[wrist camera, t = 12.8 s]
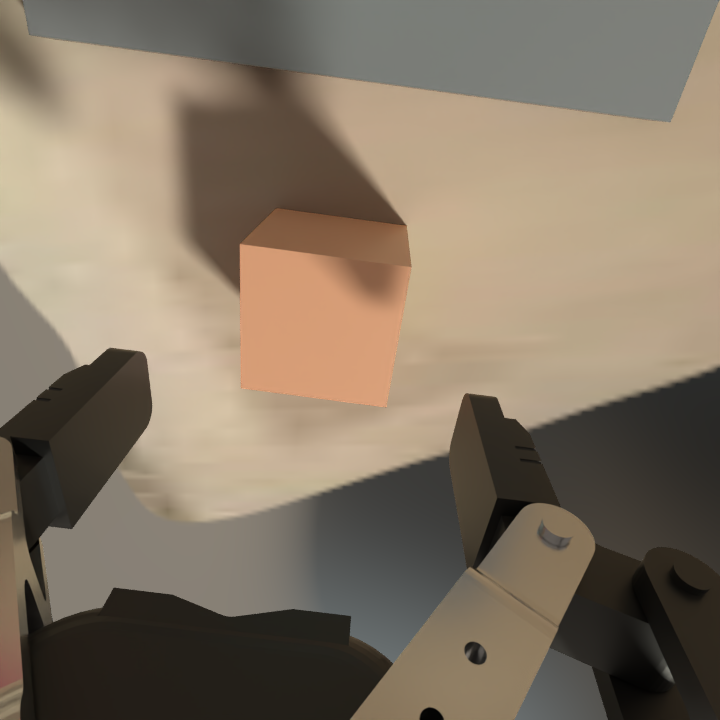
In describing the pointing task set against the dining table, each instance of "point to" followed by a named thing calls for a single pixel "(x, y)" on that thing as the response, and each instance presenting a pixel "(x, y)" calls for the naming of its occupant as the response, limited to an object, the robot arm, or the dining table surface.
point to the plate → (423, 43)
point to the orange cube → (322, 306)
